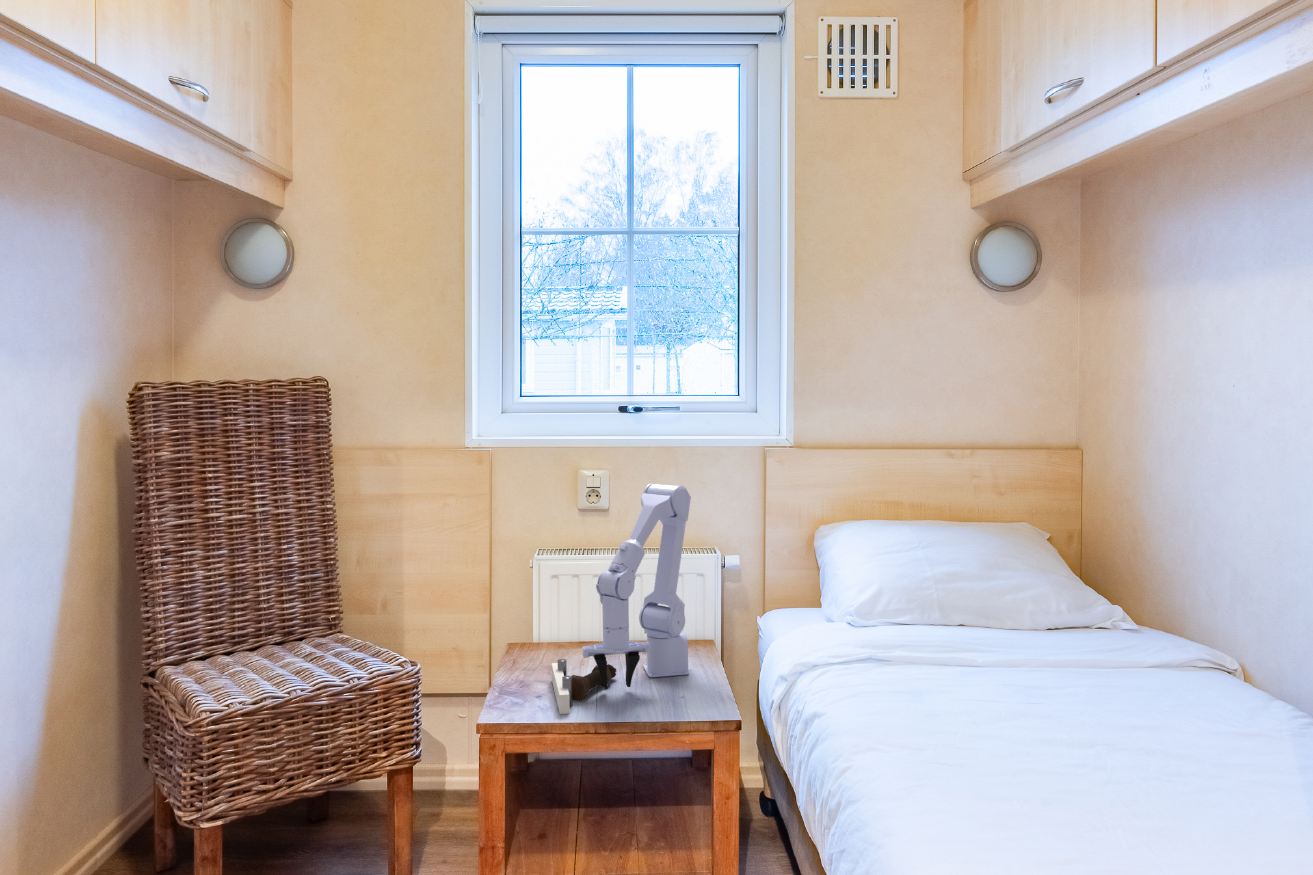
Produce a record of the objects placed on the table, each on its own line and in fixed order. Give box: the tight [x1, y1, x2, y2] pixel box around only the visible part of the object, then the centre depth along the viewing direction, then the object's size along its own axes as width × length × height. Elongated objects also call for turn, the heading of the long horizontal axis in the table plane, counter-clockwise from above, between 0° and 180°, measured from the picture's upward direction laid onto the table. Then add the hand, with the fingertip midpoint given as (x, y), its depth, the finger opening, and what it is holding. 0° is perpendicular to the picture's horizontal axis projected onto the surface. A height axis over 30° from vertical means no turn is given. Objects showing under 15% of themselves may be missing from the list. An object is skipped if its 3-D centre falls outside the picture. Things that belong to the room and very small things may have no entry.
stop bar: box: [551, 658, 573, 715], centre depth 178 cm, size 3×20×6 cm, turn 12°
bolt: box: [570, 663, 617, 702], centre depth 182 cm, size 6×5×15 cm
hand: (616, 686), depth 180 cm, fingers open, 4 cm apart
